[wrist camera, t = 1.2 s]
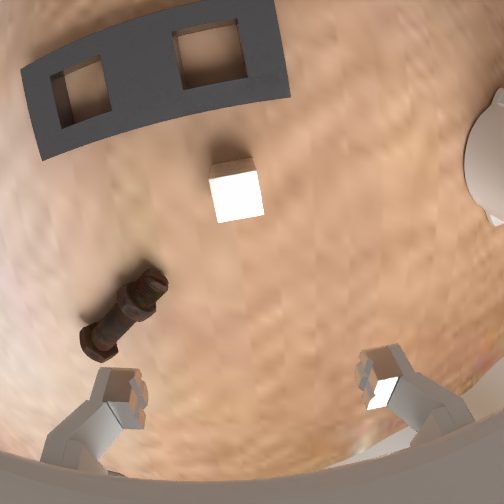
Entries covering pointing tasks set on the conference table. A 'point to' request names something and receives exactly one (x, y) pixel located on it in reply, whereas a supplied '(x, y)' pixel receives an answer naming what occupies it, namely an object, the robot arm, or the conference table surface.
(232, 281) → the conference table surface
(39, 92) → the grey slotted board
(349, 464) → the robot arm
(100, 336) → the bolt
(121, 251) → the conference table surface
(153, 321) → the conference table surface
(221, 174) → the wood grain block
